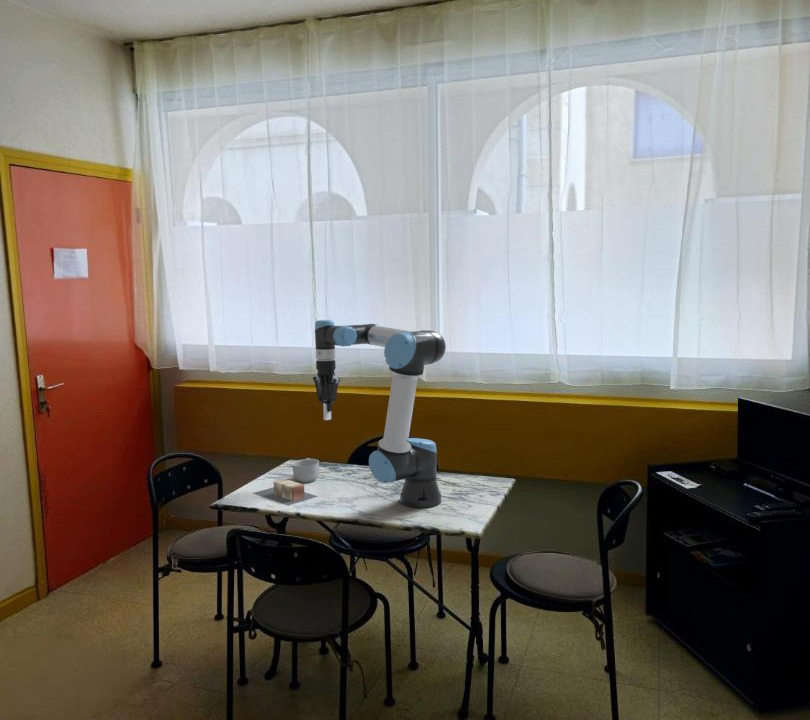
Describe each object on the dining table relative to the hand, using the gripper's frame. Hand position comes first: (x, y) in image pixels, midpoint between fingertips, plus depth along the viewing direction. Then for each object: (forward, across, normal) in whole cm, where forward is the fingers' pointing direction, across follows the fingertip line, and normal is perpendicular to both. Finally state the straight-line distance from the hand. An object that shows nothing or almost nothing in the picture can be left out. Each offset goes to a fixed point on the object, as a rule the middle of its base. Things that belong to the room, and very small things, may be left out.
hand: (327, 419), depth 267 cm
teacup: (+27, -13, 0) cm, 30 cm away
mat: (+27, -4, -19) cm, 33 cm away
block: (+24, -8, -19) cm, 31 cm away
